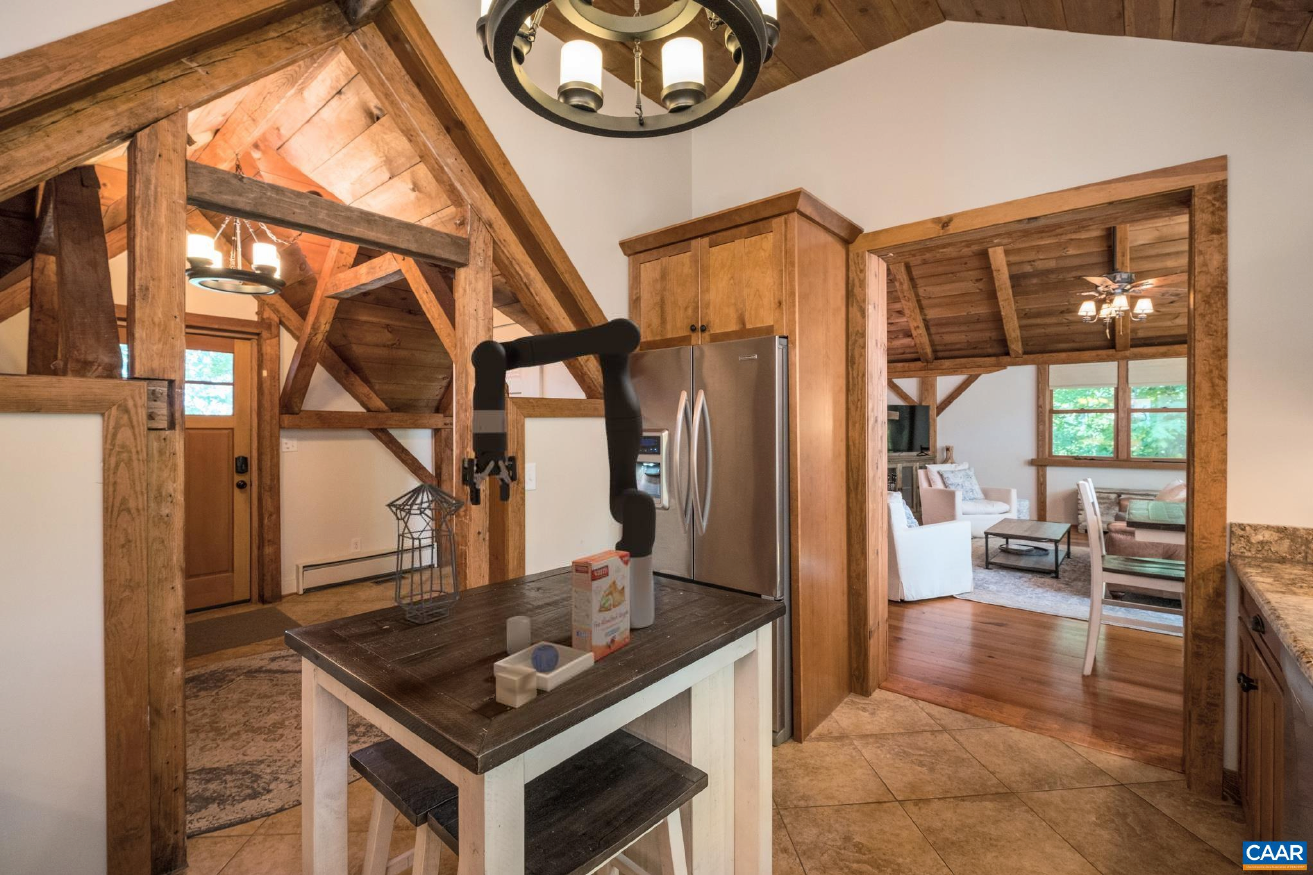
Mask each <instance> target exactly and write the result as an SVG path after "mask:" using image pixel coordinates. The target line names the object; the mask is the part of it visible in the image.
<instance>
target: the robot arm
mask: <svg viewBox="0 0 1313 875" xmlns="http://www.w3.org/2000/svg"><path fill="white" fill-rule="evenodd" d="M641 339H642V335H641V330H640V328H639V326H638V325H637V324H636V323H635V322H634V321H633V320H631V319H628V318H624V317H619V318H613V319H611V320H610V321H608V322H607V321H606V322H605V323H602V324H598V325H595V326H591V327H586V328H581V329H576V330H569V331H560V332H550V333H543V334H542V333H541V334H534V335H528V336H521V337H518V338H515V339H513V340H510V341H502V342H501V341H500V342H498V341H496V340H492V339H487V340H482V341H481V342H480V343H478V344H477V345H476V346H475V348H474V349H473V351H472V353H471V355H470V362H471V364H472V366H473V368H474V387H473V392H472V418H471V429H472V430H471V432H472V433H471V435H472V436H471V437H472V438H471V439H472V440H471V444H472V451H473V453H474V457H463V458H462V461H461V462H462V463H461V485H462V486H463V487H464V486H465V487H468V488H469V503H470V504H471V505H472V506H481V504H482V502H481V500H482V499H481V496H482V495H481V488H480V487H481V485H482V484H483V482H484V481H485V480H486V479H487V477H489V478H490V477H492V476H494V477H495V478H497V480H498V482H499V483H500V484H499V500H500V502H509V500H510V498H511V487H510V486H511V485H512V483H513V482H517V479H518V474H517V472H518V471H517V458H516V456H515V455H505V452H507V451H508V421H507V414H506V390H505V386H506V379H507V378H506V377H507V372H509V371H513V370H515V369H522V368H532V367H538V366H539V367H540V366H545V365H550V364H556V363H560V362H564V361H567V360H568V361H569V360H572V359H576V358H581V357H587V356H593V355H598V359H599V366H600V369H601V376H602V378H601V379H602V389H603V391H602V392H603V393H602V394H603V408H604V424H605V435H606V443H607V446H606V447H607V457H608V458H607V459H608V467H609V493H608V494H609V498H608V499H609V502H608V503H609V504H608V505H609V511H610V515H611V517H612V519H613V520H614V521H615V522H616V523H618V524H621V526H622V531H621V534H622V535H621V538H620V540H618V541H617V542H616V543H615V546H614V550H616V551H625V552H629V553H630V629H642V628H646V627H649V626H652V625H653V624H654V621H655V582H654V581H653V580H654V577H653V547H654V544H655V541H656V532H657V531H656V529H657V528H656V527H657V526H656V524H657V507H656V503H655V501H654V500H655V499H654V498H653V497H652V495H651V494H650V493H648V492H647V491H643V490H639V488H638V481H637V462H638V458H639V455H640V452H641V448H642V444H643V438H644V427H643V417H642V409H641V404H640V402H639V399H638V396H637V393H636V390H635V387H634V385H633V382H632V378H631V373H630V371H631V369H630V355H631V354H632V353H634V352H635V351H637V349H638V347H639V345H640V344H641V342H642V341H641Z"/></svg>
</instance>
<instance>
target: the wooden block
mask: <svg viewBox="0 0 1313 875" xmlns="http://www.w3.org/2000/svg"><path fill="white" fill-rule="evenodd" d="M537 692H538V691H537V686H536V670H535V669H532V668H528V667H524V666H521V665H517V664H516V665H514V666H512V667H510V668H507V669H505V670H503V671H501V672H499V673H497V674H496V676H495V695H496V696H495V701H496V702H497V703H500V704H503V705H506V706H508V707H511V708H515V709H517V708H519V707H521V706H522V705H524V704H527V703H528V702H530V701H532V700H533V699H535V698H537Z"/></svg>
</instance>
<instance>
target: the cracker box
mask: <svg viewBox="0 0 1313 875" xmlns="http://www.w3.org/2000/svg"><path fill="white" fill-rule="evenodd" d="M630 629H631V628H630V553H629V552H625V551H616V550H615V549H609V550H605V551H601V552H599V553H596V554H591V555H588V556H584V557H582V558H581V557H580V558H578V559H574V560H572V561H571V648H575V649H579V650H584V651H588V652H592V653H594V663H595V662H596V661H598V660H601V659H602V658H604V657H606V656H608V655H610V654H611V653H614V652H616V651H617V650H619V649H621V648H623V647H625V646H626V645H629V644H630V642H631V640H630V637H631V636H630V634H631V631H630Z"/></svg>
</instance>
